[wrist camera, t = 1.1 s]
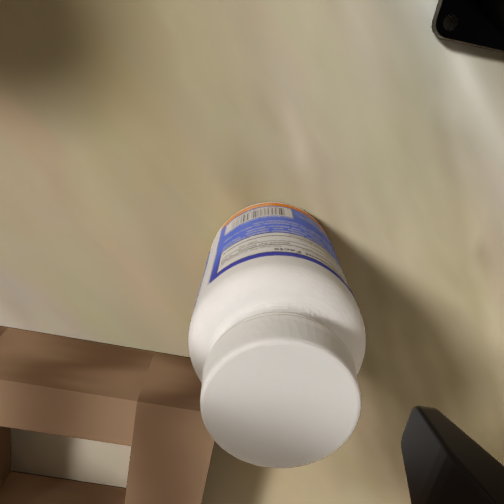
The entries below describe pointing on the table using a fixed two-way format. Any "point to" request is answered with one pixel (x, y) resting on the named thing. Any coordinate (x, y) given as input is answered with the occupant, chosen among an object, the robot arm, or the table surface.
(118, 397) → the walnut box
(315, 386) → the pill bottle
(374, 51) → the table surface
